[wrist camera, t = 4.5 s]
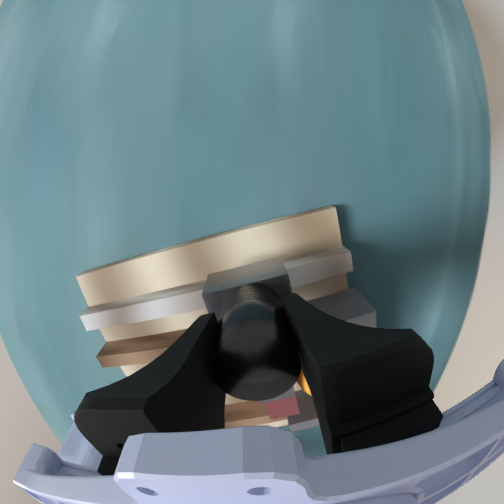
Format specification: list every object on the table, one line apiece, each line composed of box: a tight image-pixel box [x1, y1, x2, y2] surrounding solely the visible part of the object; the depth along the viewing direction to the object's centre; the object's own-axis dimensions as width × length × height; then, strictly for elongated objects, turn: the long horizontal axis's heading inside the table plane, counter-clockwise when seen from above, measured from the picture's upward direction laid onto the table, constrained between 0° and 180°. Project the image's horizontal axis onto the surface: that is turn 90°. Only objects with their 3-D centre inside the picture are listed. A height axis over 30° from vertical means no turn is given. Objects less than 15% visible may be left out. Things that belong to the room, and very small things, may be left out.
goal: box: [287, 287, 377, 432], centre depth 17 cm, size 6×9×3 cm
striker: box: [202, 256, 301, 420], centre depth 14 cm, size 4×10×8 cm, turn 14°
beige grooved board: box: [76, 205, 353, 428], centre depth 18 cm, size 18×18×3 cm
